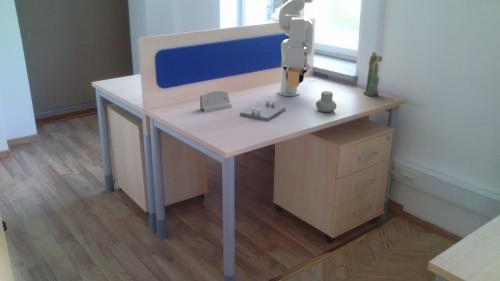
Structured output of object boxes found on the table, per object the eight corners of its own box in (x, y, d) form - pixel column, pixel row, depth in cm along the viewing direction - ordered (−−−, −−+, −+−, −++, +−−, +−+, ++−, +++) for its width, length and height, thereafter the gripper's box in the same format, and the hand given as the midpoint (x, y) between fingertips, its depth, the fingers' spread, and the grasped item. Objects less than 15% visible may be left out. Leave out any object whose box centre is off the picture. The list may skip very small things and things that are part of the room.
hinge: (204, 111, 248) (200, 92, 247) (200, 112, 252) (197, 93, 251) (232, 107, 256) (229, 88, 255) (228, 107, 260) (225, 89, 259)
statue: (380, 94, 283) (385, 52, 273) (370, 96, 278) (375, 54, 269) (372, 91, 288) (377, 50, 278) (361, 93, 284) (366, 51, 274)
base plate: (258, 104, 261) (258, 96, 259) (285, 109, 253) (285, 101, 252) (240, 115, 244) (240, 106, 243) (267, 120, 237) (268, 112, 235)
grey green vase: (313, 108, 257) (315, 90, 253) (327, 106, 260) (329, 89, 256) (323, 114, 248) (325, 96, 244) (337, 113, 250) (339, 94, 247)
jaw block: (291, 79, 241) (292, 66, 238) (301, 80, 240) (302, 67, 237) (287, 86, 230) (287, 72, 228) (297, 87, 229) (298, 72, 227)
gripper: (316, 45, 227) (313, 82, 234) (283, 41, 235) (282, 76, 242) (310, 47, 221) (307, 85, 228) (276, 43, 229) (275, 80, 236)
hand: (294, 80), depth 235 cm, fingers closed on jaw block, 5 cm apart
